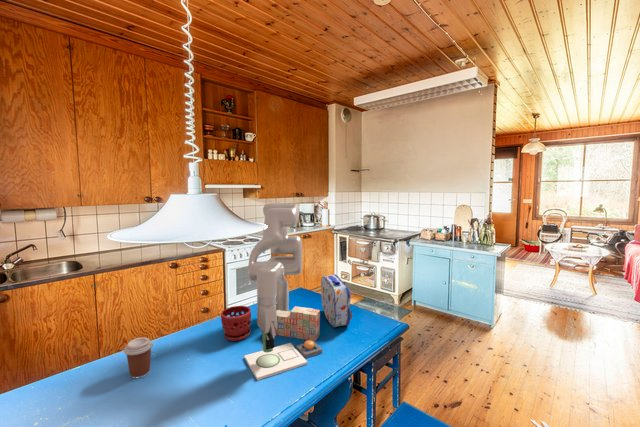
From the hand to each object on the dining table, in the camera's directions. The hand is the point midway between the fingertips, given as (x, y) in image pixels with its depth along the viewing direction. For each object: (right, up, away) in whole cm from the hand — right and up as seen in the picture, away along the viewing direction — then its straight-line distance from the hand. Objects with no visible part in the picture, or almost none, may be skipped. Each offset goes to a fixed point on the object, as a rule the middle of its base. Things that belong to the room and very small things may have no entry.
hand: (267, 345), depth 119 cm
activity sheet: (+3, -7, +2) cm, 8 cm away
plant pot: (-18, -5, +22) cm, 29 cm away
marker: (0, -2, 0) cm, 2 cm away
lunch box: (+28, -4, +40) cm, 49 cm away
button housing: (+16, -6, +10) cm, 20 cm away
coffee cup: (-46, -8, -6) cm, 47 cm away
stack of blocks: (+9, -5, +24) cm, 26 cm away
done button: (+16, -5, +10) cm, 19 cm away
